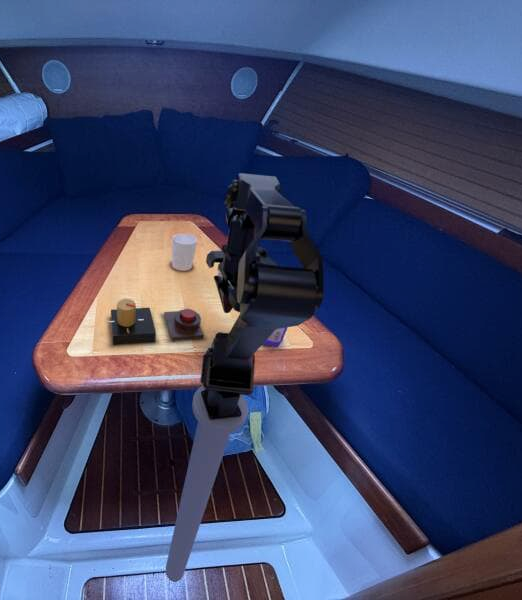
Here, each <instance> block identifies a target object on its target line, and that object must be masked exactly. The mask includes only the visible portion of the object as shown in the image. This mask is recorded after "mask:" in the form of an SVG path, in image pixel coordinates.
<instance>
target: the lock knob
mask: <svg viewBox="0 0 522 600" xmlns="http://www.w3.org/2000/svg"><path fill="white" fill-rule="evenodd" d="M136 308H137V304H136V302H135V300H132V299H130V298H122V299H120V300H118V301H117V303H116V309H117V322H118V324H119V325H121V326H124V327H128V326H132V325H133V324H134V323H135V316H136Z"/></svg>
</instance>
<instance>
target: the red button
mask: <svg viewBox="0 0 522 600" xmlns="http://www.w3.org/2000/svg"><path fill="white" fill-rule="evenodd" d="M181 310H182V312H181V320H182V321H183V322H187V323H191V322H193V321H194V320H195V315H196V313H197V312H196V311H195V310H194V309H191V308H184V309H181ZM195 312H196V313H195Z"/></svg>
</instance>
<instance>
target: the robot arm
mask: <svg viewBox="0 0 522 600" xmlns="http://www.w3.org/2000/svg"><path fill="white" fill-rule="evenodd" d="M223 205H225V219H226V223H227V227H228V233H227V238H226V244H221V249H220V250H211V251H209V252H208V253H207V254H206V258H205V259H206V260H205V263H206V266H207V267H208V268H209V269H213V268H214V266H215V263H216V264H217V263H218V265H217V275H214V276H213V280H214V282H215V286H216V290H217V292H218V296H219V299H220V303H221V308H222V310H223V312H224V314H229V313H231V312H232V310H234V311H235V312H237V313H239V315H238V316H237V318H236V320H235V322H234V324H233V325H232V327H231V329H230V331H229V332H220V331H219V332H217V333H215V336H214V338H213V339H212V343H211V345H210V347H207V348H206V350H205V353H204V354H203V356H202V364H201V373H200V379H199V383H201V384H202V386H204V391H201V396H202V399H203V402H204V405H205V408H206V411H207V414H208V417H209V419H210V420H216V419H224V418H232V417H240V416H241V415H242V413H241V410H240V408H239V406H238V401H239V398H240V394H241V395H243V396H247V397H251V396H252V394H254V383H255V382H254V381H255V379H254V378H255V363H256V357H255V353H257V351H258V350H259V349H260V348H261V347H262V345H264V344H263V343H264V342H265V341H266V340H267V339H268V338H269V337H270V335H271V334H272V333H273V332H274V331H275V330H276V329H279V328H286V327H288V328H291V327H297V326H300V325H302V324H304V323H306V322H307V321H309V320H310V319H312V317H314V315H315V314H316V312H317V311H318V310H320V308H321V306H322V305H323V304H322V303H323V300H324V294H325V293H324V292H325V289H324V287H325V286H324V285H325V284H324V257H323V255H322V253H321V252H320V250H319V248H318V247H317V245H316V244H315V242H314V240H313V239H312V237H311V235H310V234H309V232H308V216H307V211H306V210H305V209H301V208H300V207H299V206H295V205H294V204H293V203H292V202H290V201H289V200H288V199H287V198H286V197H284V196H283V195H282V194H281V183H280V181H279V180H278V178H277V176H275V175H264V174H253V173H243V172H239V173H238V174H237V176H236V179H232V181H231V183H230V185H229V186H228V187H227V189H226V192H225V194H224V198H223ZM260 240H269V241H277V242H287V243H289V244H290V248H291V249H292V251H293V253H294V254H295V256H296V259H298V262H299V263H300V265H301V266H302V267H297V266H296V267H294V266H287V265H286V266H285V265H278V264H277V262H276V261H274V260H273V259H272V258H271V257H269V255H268V254H269V252H268V251H267V250H266V249H265V248H264V247H261V246H259V244H260ZM203 393H204V394H203ZM238 413H239V414H238ZM211 416H212V417H211Z"/></svg>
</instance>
